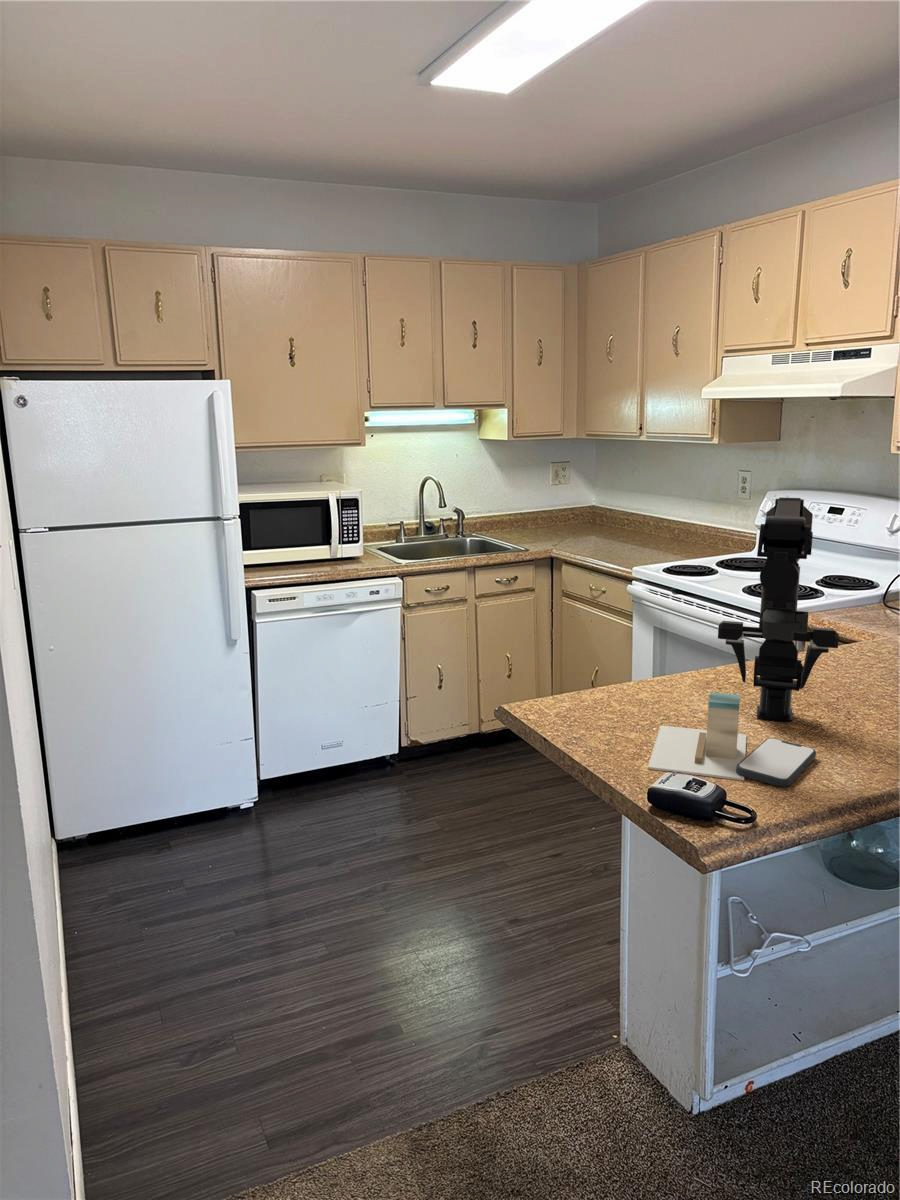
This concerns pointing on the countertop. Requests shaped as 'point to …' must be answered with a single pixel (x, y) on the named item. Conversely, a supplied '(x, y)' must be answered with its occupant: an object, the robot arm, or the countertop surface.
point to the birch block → (722, 725)
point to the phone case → (776, 762)
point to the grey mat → (693, 754)
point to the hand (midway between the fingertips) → (772, 684)
